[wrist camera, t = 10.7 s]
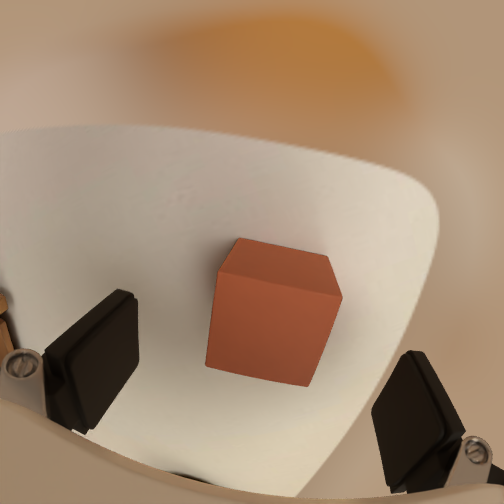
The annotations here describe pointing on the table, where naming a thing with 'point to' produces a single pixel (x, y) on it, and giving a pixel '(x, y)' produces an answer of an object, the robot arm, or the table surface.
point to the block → (272, 312)
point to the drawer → (4, 332)
